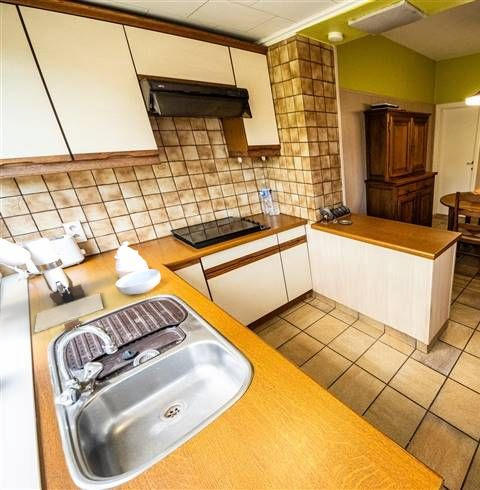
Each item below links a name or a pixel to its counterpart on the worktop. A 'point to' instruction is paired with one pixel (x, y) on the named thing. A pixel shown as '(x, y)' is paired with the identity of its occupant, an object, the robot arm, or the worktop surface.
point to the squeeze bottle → (57, 289)
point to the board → (68, 312)
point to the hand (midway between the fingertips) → (70, 299)
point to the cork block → (72, 325)
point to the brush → (76, 292)
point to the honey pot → (128, 261)
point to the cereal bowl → (139, 281)
